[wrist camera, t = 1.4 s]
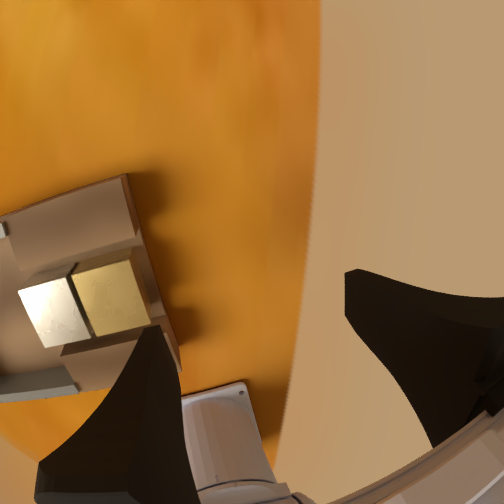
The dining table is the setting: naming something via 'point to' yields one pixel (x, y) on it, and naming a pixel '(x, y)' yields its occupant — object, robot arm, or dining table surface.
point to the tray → (35, 378)
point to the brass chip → (113, 292)
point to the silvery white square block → (56, 307)
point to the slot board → (74, 250)
